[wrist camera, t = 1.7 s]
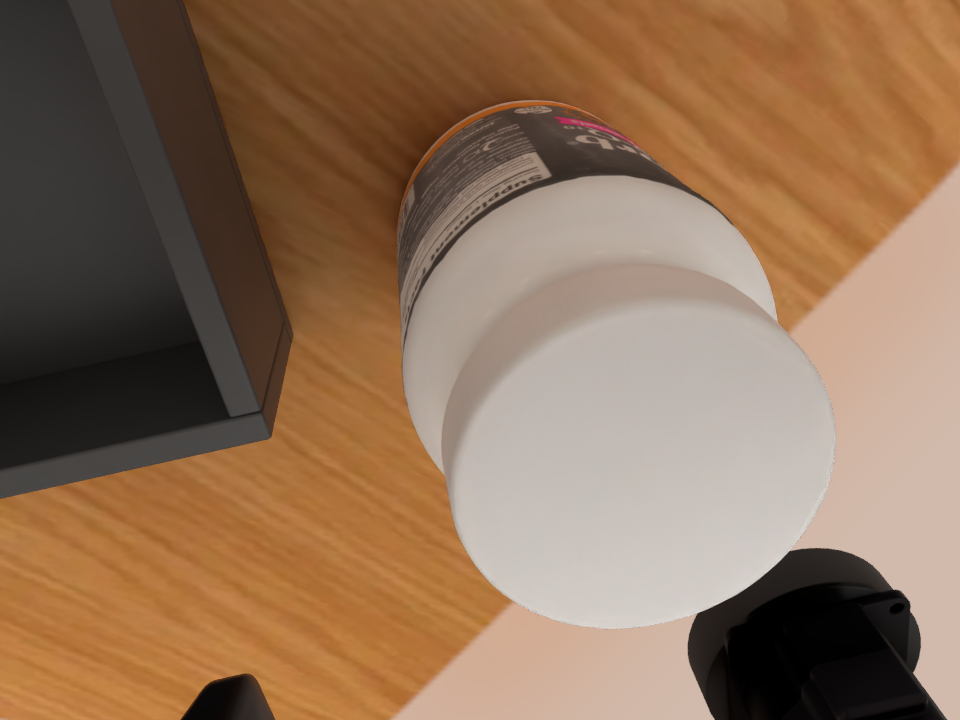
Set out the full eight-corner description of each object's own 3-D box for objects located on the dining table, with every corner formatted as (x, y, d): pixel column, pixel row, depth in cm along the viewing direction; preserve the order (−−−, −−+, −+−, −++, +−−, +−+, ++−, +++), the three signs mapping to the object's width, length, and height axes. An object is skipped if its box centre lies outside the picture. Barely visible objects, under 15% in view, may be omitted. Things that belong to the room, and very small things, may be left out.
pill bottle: (697, 207, 19) (980, 444, 10) (528, 384, 20) (644, 721, 12) (512, 33, 17) (664, 137, 8) (340, 245, 18) (306, 530, 9)
